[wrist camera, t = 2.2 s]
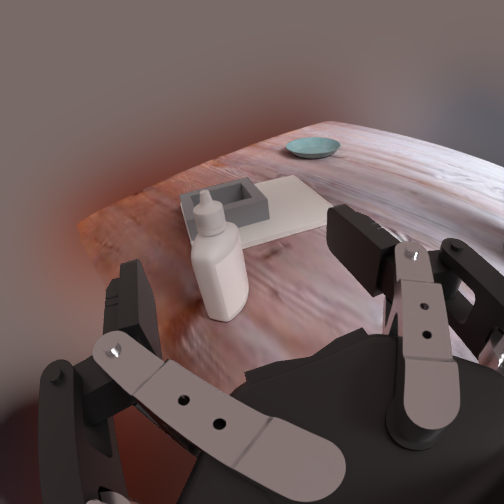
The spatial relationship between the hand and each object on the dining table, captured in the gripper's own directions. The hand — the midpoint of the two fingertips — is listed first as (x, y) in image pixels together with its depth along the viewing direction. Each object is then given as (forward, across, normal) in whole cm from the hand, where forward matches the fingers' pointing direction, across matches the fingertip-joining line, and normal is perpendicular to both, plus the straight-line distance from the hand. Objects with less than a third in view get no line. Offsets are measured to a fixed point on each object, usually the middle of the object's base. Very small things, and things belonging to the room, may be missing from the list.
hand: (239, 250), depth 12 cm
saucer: (+47, -28, +14) cm, 57 cm away
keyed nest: (+28, -8, +14) cm, 32 cm away
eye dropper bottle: (+12, 0, +14) cm, 19 cm away
